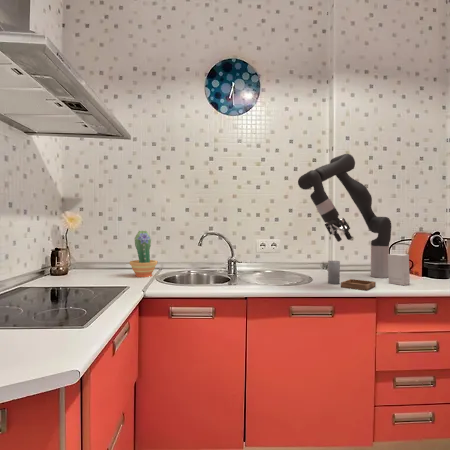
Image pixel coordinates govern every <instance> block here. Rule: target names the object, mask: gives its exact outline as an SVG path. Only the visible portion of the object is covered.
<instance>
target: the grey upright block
mask: <svg viewBox="0 0 450 450" xmlns="http://www.w3.org/2000/svg"><path fill="white" fill-rule="evenodd" d="M340 268H341V261H340V260H328V261H327V284H329V285H341V280H340V279H341V276H340V275H341V269H340Z"/></svg>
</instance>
